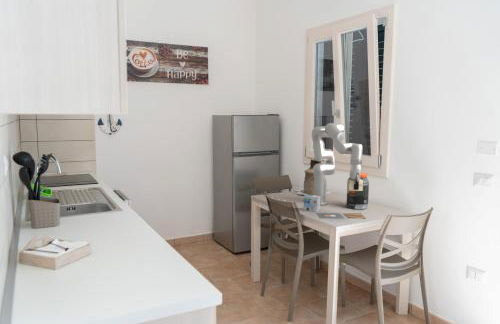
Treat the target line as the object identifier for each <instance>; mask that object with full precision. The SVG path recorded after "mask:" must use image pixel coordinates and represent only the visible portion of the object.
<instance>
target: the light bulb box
mask: <svg viewBox="0 0 500 324" xmlns="http://www.w3.org/2000/svg"><path fill="white" fill-rule="evenodd" d="M302 205H303V206H302V210H303V211H309V212H315V213H318V212H319V211H320V210H321V209H320V208H321V205H320V196H316V195H308V194H307V195H303V204H302Z"/></svg>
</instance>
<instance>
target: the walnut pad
mask: <svg viewBox="0 0 500 324" xmlns="http://www.w3.org/2000/svg"><path fill="white" fill-rule="evenodd" d="M343 215H344V216H346V217H347V218H348V219H362V220H366V219H367V217H365V216H364V214H363V213H361V212H357V213H356V212H355V213H352V212H351V213H350V212H348V213H347V212H344V213H343Z"/></svg>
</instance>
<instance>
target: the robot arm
mask: <svg viewBox="0 0 500 324" xmlns="http://www.w3.org/2000/svg"><path fill="white" fill-rule="evenodd" d="M344 131H345V127H344V125H343V124H342V123H340V122H329V123H327V124H325V126H324V125H323V126H322V125H321V126H316V127H314V128H312V131H311V140H312V143H313V157H314V158H313V159H315V160H316V161H321V163H318V164H316V165H314V167H313V172H314V195H316V196H320V206H325V205H328V204H329V203H328V201H327V196H326V191H327V179H326V176H333V175H334V174H335V173H336V160H335V153H334V150H335V151H337V153H339V154H341V155H350V162H349V165H350V167H349V168H350V169H349V178H351V179H353V180H354V183H355V184H354V190H359V179H360V175H361V173H362V172H361V169H362V167H361V166H362V165H363V148H364V147H363V145H362V144H361V143H356V142H355V143H354V142H342V141H343V139H344V137H345V132H344ZM323 138H331V139H332V140H333V141H332V145H333V148H334V150H332V149H330V148H326V147H325V141H324V140H323Z"/></svg>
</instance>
